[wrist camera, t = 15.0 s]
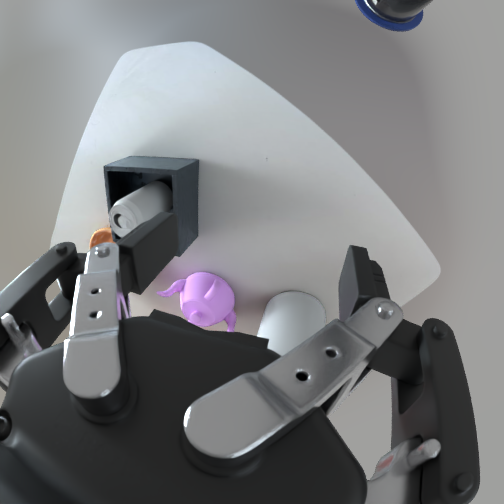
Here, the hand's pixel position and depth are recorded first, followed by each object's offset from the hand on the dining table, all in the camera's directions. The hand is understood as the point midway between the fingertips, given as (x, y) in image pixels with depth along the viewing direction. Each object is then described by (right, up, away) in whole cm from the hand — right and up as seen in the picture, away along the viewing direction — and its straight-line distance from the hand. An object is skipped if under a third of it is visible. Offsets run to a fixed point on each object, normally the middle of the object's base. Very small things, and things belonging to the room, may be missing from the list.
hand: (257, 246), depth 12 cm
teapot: (-9, -9, +45) cm, 47 cm away
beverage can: (-17, +10, +36) cm, 41 cm away
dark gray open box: (-17, +10, +37) cm, 42 cm away
